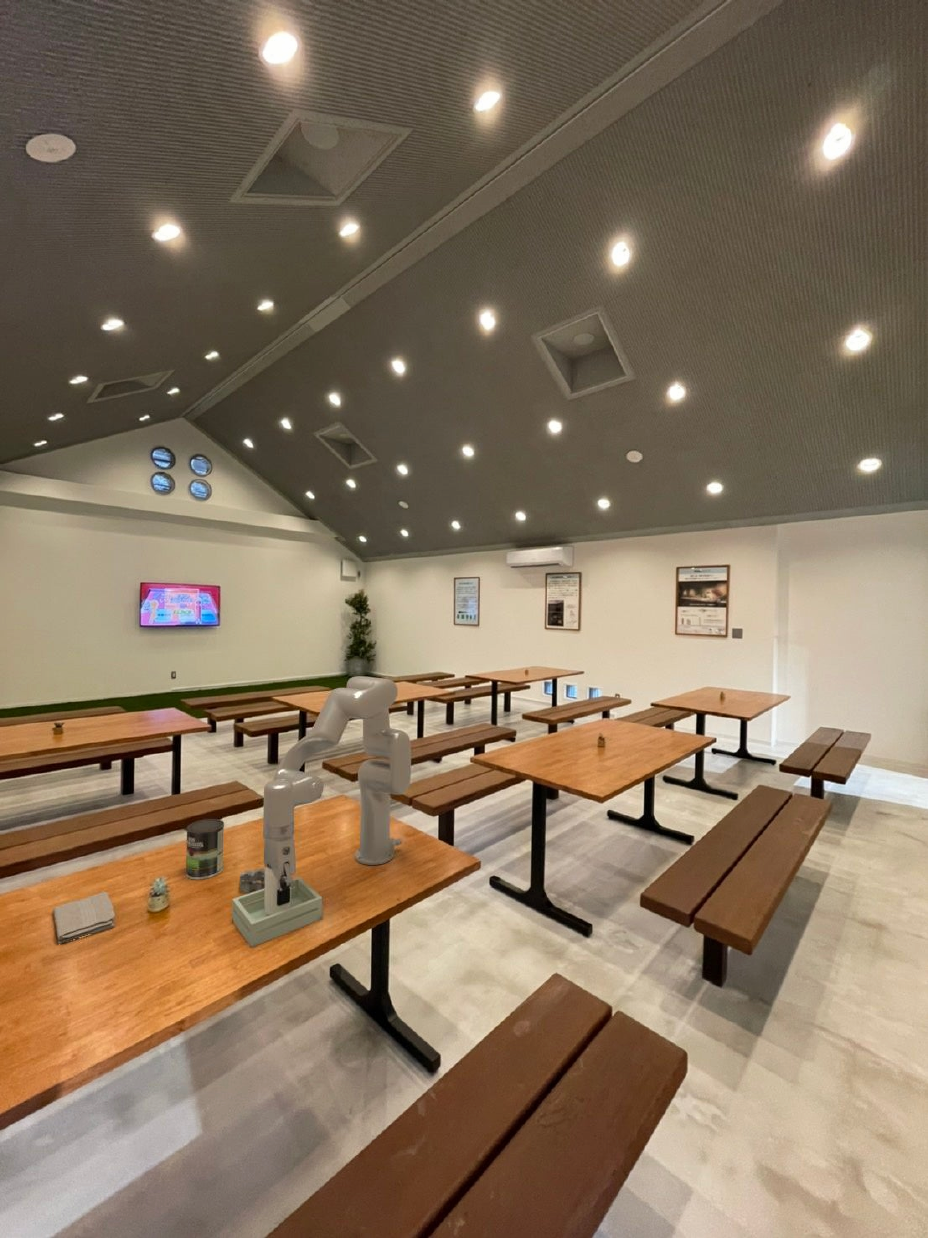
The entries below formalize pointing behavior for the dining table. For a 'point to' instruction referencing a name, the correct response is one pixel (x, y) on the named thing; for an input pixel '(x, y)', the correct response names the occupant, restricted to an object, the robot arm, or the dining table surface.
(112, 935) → the dining table surface
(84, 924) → the washcloth
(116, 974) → the dining table surface
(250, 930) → the tray
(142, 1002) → the dining table surface
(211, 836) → the coffee can
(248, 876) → the egg carton
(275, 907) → the can
